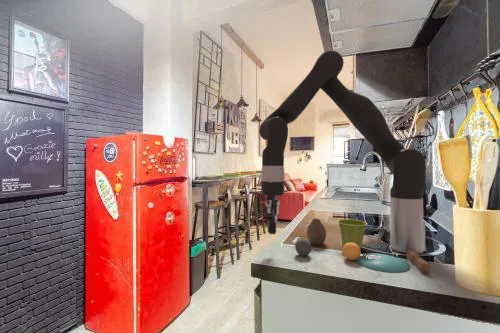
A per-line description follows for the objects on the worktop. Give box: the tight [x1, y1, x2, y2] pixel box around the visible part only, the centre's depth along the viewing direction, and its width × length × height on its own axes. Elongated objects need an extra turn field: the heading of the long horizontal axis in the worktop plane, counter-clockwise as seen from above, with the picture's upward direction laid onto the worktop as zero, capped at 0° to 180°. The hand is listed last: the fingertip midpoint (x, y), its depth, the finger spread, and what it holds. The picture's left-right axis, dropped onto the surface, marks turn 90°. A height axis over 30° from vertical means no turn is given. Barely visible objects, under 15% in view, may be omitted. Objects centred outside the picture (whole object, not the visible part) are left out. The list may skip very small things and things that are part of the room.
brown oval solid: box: [306, 218, 327, 246], centre depth 90 cm, size 7×7×9 cm
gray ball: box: [294, 238, 312, 257], centre depth 78 cm, size 5×5×5 cm
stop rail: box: [406, 249, 430, 276], centre depth 69 cm, size 12×2×2 cm, turn 164°
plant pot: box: [337, 218, 368, 250], centre depth 85 cm, size 9×9×9 cm
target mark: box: [355, 252, 411, 273], centre depth 72 cm, size 14×14×1 cm
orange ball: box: [342, 242, 362, 261], centre depth 74 cm, size 5×5×5 cm
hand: (272, 233), depth 81 cm, fingers closed
